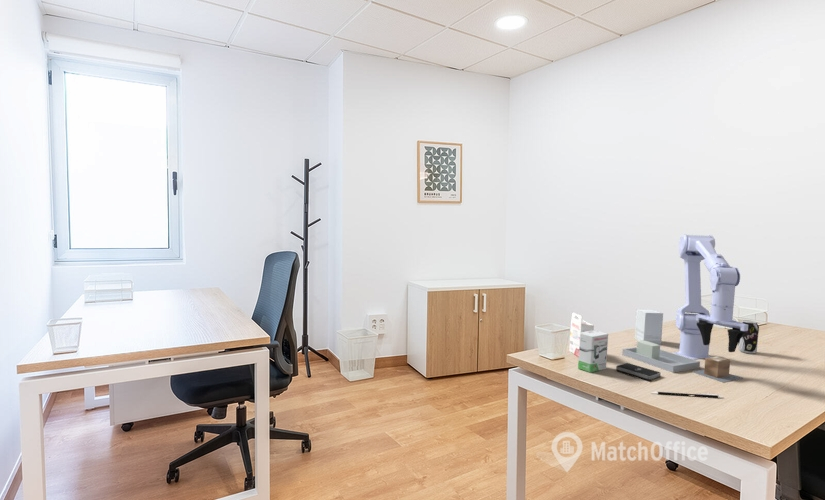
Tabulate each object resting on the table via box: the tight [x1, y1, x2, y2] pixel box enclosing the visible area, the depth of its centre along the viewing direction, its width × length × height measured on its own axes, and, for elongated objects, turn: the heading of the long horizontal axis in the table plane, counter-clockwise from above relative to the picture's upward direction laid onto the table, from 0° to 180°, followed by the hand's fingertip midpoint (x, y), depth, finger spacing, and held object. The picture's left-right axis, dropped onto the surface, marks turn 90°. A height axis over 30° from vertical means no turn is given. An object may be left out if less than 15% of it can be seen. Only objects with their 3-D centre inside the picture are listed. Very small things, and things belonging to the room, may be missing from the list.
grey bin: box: [621, 346, 701, 373], centre depth 152 cm, size 13×19×2 cm
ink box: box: [577, 330, 609, 373], centre depth 143 cm, size 9×5×12 cm, turn 123°
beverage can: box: [737, 319, 760, 355], centre depth 167 cm, size 6×6×12 cm
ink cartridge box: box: [568, 311, 595, 358], centre depth 158 cm, size 9×5×15 cm, turn 5°
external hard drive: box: [615, 362, 661, 382], centre depth 139 cm, size 7×11×2 cm, turn 35°
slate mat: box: [690, 368, 744, 384], centre depth 139 cm, size 10×10×1 cm
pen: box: [651, 391, 724, 399], centre depth 123 cm, size 1×19×1 cm, turn 85°
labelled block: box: [703, 355, 731, 378], centre depth 139 cm, size 4×6×5 cm, turn 115°
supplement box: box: [634, 308, 664, 345], centre depth 178 cm, size 7×7×13 cm
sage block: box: [636, 340, 661, 360], centre depth 156 cm, size 4×6×5 cm, turn 24°
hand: (718, 348), depth 139 cm, fingers open, 7 cm apart
